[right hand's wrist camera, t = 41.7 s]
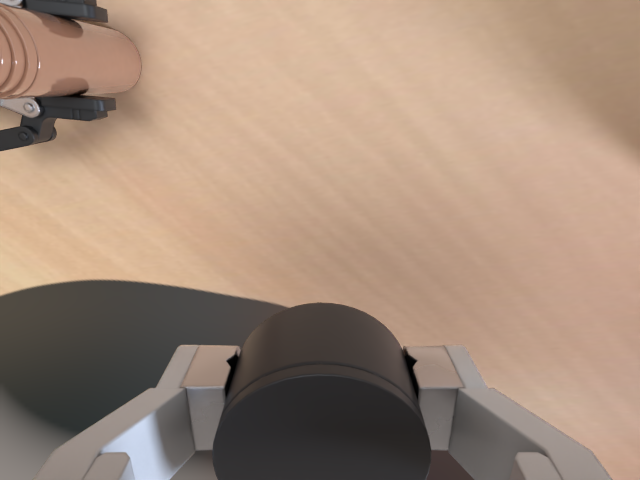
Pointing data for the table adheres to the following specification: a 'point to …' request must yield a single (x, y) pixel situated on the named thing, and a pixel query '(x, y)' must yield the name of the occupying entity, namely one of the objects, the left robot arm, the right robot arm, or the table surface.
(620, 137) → the table surface
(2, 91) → the bottle
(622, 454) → the table surface
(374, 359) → the cap
